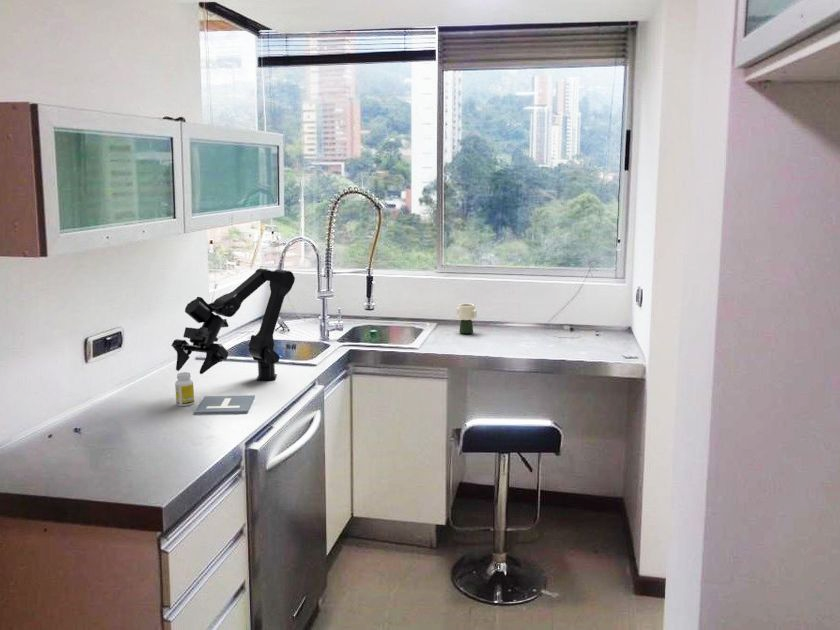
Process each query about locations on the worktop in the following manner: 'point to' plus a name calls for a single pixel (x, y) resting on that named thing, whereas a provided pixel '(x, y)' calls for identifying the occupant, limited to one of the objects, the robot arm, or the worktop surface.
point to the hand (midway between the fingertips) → (188, 371)
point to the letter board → (225, 404)
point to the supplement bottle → (184, 389)
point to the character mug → (466, 317)
